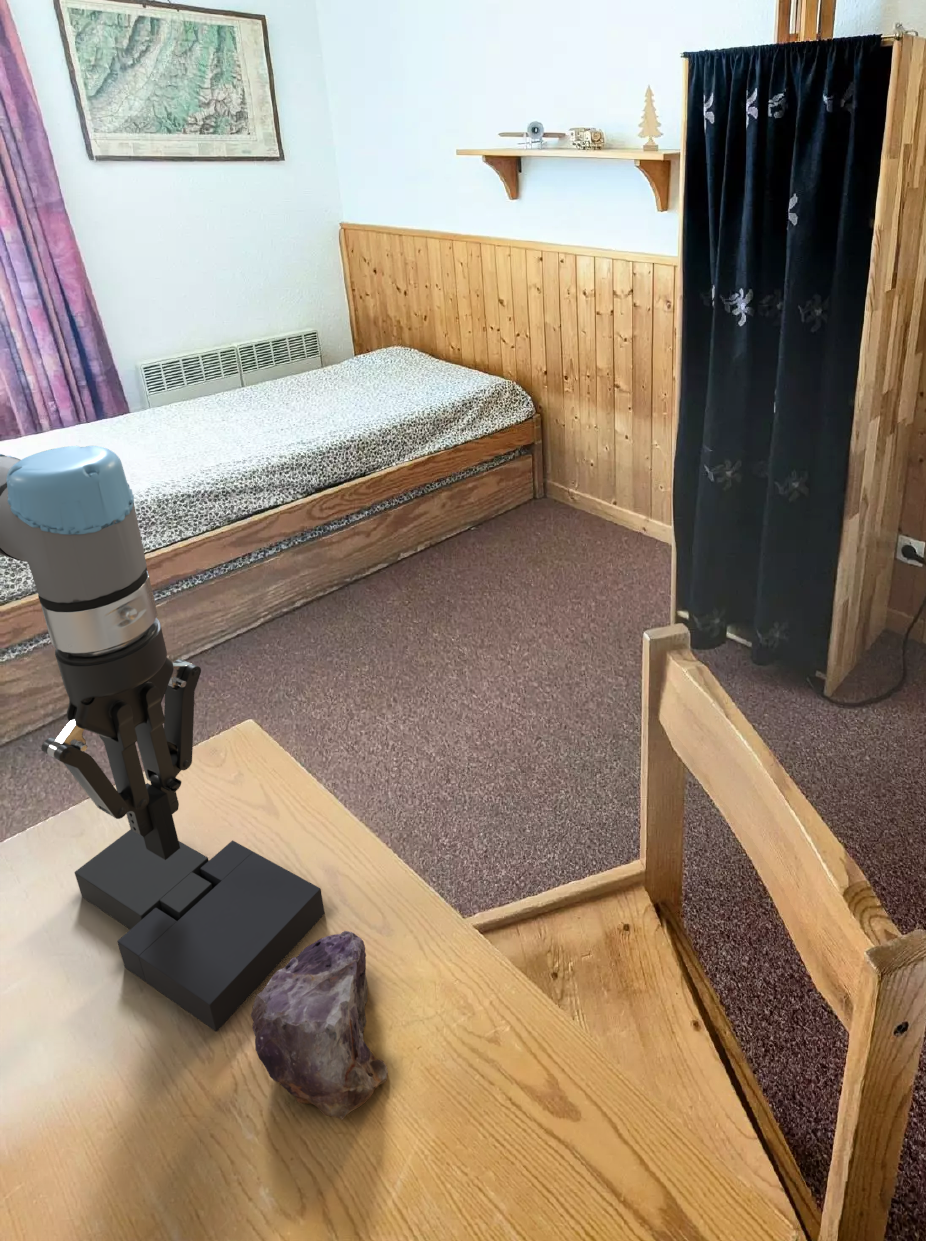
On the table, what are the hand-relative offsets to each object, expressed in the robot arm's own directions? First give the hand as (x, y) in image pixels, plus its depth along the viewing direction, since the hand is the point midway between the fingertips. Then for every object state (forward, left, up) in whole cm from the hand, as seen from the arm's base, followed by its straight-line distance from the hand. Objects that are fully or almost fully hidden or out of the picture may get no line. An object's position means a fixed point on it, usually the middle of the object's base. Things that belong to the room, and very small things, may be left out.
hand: (163, 848), depth 73 cm
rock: (+22, -3, -9) cm, 24 cm away
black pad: (-3, 0, -8) cm, 9 cm away
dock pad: (+7, 0, -8) cm, 11 cm away
